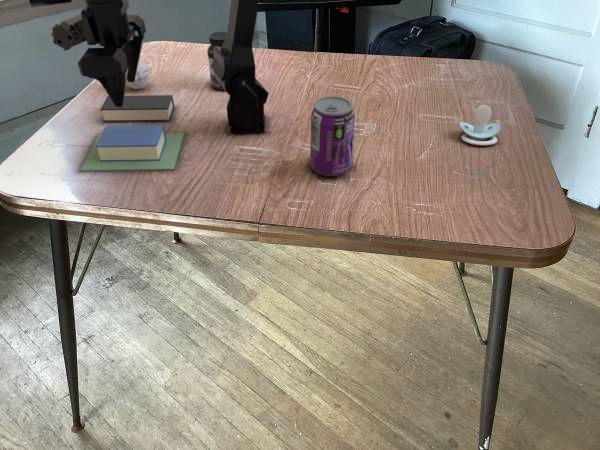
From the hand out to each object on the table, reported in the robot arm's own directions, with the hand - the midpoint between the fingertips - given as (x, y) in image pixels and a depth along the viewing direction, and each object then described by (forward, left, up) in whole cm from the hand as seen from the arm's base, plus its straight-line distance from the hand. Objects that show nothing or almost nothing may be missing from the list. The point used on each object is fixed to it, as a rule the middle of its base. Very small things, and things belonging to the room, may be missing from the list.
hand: (125, 93), depth 92 cm
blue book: (+1, +1, -11) cm, 11 cm away
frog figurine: (+5, -25, -11) cm, 28 cm away
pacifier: (-63, -2, -11) cm, 64 cm away
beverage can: (-35, +7, -11) cm, 37 cm away
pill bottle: (-14, -26, -11) cm, 32 cm away
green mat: (0, +1, -11) cm, 11 cm away
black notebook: (+2, -13, -11) cm, 17 cm away
